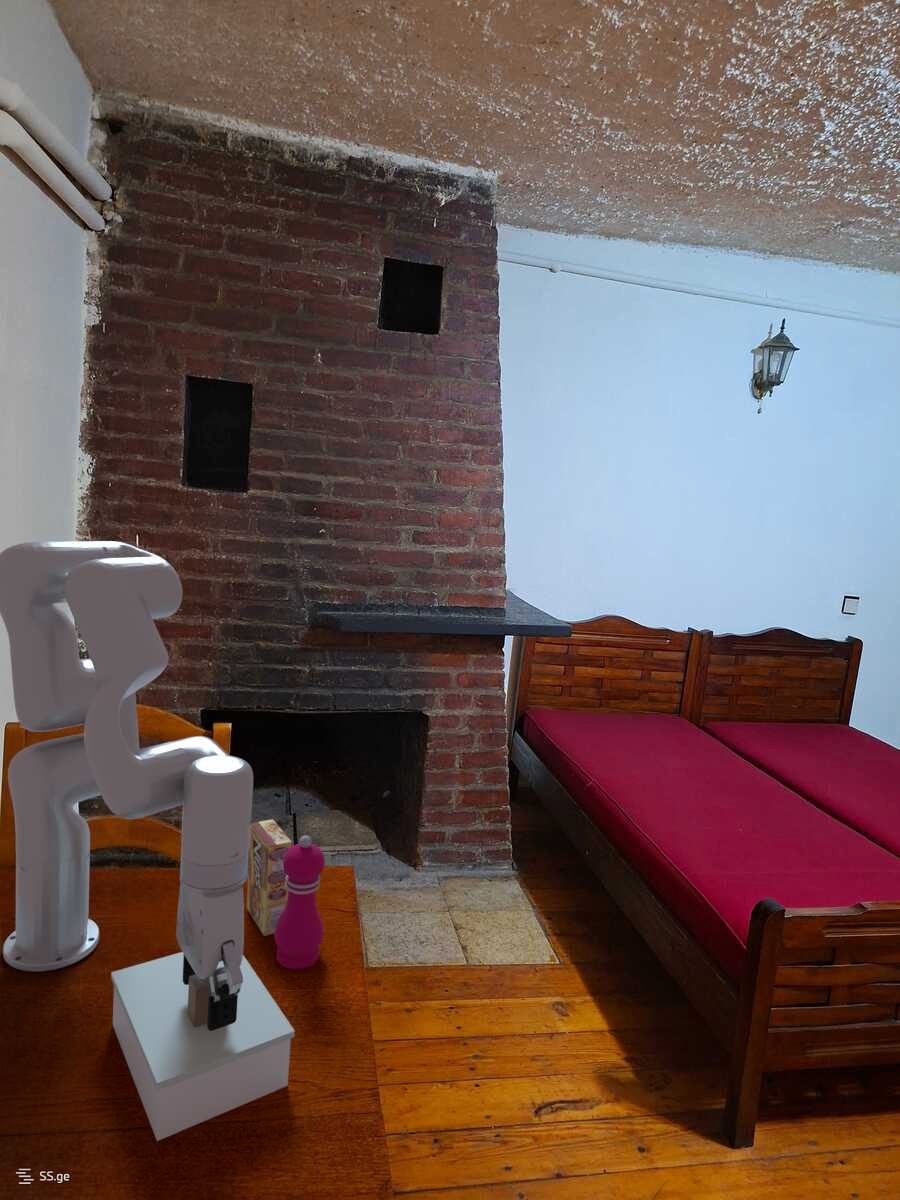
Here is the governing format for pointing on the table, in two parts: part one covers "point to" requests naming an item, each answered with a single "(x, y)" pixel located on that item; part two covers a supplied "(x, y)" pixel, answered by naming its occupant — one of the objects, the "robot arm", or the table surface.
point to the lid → (193, 1018)
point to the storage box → (201, 1082)
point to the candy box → (267, 874)
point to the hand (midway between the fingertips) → (208, 1001)
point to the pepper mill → (300, 907)
